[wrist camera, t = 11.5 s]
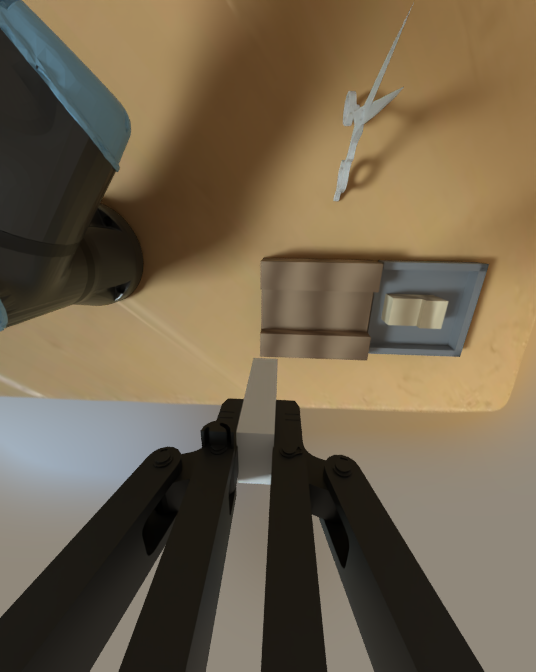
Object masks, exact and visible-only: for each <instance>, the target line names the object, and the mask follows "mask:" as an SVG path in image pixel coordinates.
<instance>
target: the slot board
mask: <svg viewBox="0 0 536 672" xmlns="http://www.w3.org/2000/svg"><path fill="white" fill-rule="evenodd" d="M382 270H383V264H382V263H379V262H376V261H373V260H342V259H291V258H263V259H262V260H261V289H262V322H261V333H260V356H261V357H289V358H316V359H344V360H367V357H368V352H369V346H370V340H371V336H370V335H369V334H368V333H367V328H368V322H369V316H370V310H371V304H372V298H373V292H379V287H380V281H381V276H382Z"/></svg>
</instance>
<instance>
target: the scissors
mask: <svg viewBox="0 0 536 672" xmlns="http://www.w3.org/2000/svg"><path fill="white" fill-rule="evenodd" d="M413 3H414V2H413ZM411 8H412V7H411ZM410 10H411V9H410ZM409 13H410V11H409ZM409 13H408V15H409ZM408 15H407V17H408ZM407 17H406V19H405V21H404V23H403V25H402V27H401V29H400V31H399V33H398V35H397V37H396V39H395V41H394V43H393V45H392V47H391V49H390V51H389V53H388V55H387V57H386V59H385V61H384V64H383V66H382V68H381V70H380V72H379V74H378V76H377V78H376V81H375V83H374V85H373V87H372V89H371V92H370V94H369V96H368V98H367V100H366V102H365V104H364V106H362V107H360V105H357V102H356V92H355V91H349V92H348V94H347V97H346V101H345V106H344V112H343V125H344V126H351V125H352V121H353V119H354V124H355V126H354V130H353V134H352V138H351V142H350V146H349V150H348V154H347V157H346V160H342V162H341V165H340V169H339V174H338V180H337V188H336V192H335V195H334V201H339V198H340V195H341V192H344V191H345V189H346V186H347V182H348V177H349V170H350V166H351V162H352V161H353V159H354V154H355V150H356V146H357V143H358V141H359V139H360V137H361V135H362V132H363V126H364V124H365V123H366V122H368V121H369V120H370V119H372V118H373V117H374V116H375V115H377V114H378V113H379V112H380V111H381V110H382V109H383V108H384V107H385V106H386V105H387V104H388V103H389V102H391V101H392V100H393V99H394V98H395V97H396V96H397V95H398V93H399V92H400V91H401V90H402V89H403V87H402V88H400V89H398V90H396V91H394V92H392V93H390V94H388V95H386V96H384V97H382V98H381V99H378V100H376V101H374V102H373V99H374V97H375V95H376V92H377V90H378V87H379V85H380V83H381V80H382V78H383V76H384V73H385V71H386V68H387V66H388V63H389V61H390V59H391V56H392V54H393V51H394V49H395V46H396V44H397V42H398V39H399V37H400V34H401V32H402V29H403V27H404V25H405V22H406V20H407ZM372 102H373V103H372Z"/></svg>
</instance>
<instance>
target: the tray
mask: <svg viewBox="0 0 536 672" xmlns="http://www.w3.org/2000/svg"><path fill="white" fill-rule="evenodd" d="M378 262H379V263H382V264H383V270H382V276H381V281H380V287H379V292H373V298H372V304H371V310H370V316H369V322H368V328H367V333H368V334H369V335H370V336H371V340H370V346H369V352H368V353H371V354H399V355H427V356H456V357H460V355H461V352H462V348H463V345H464V342H465V339H466V336H467V333H468V329H469V326H470V323H471V320H472V317H473V313H474V310H475V307H476V304H477V301H478V297H479V294H480V291H481V288H482V285H483V282H484V278H485V275H486V272H487V269H488V266H489V264H485V263H479V262H442V261H392V260H378ZM386 294H417V295H434V296H437V297H439V298H442V299H444V300H446V301H449V302H448V305H447V309H446V313H445V316H444V320H443V324H442V327H441V329H428V328H418V327H417V326H401V325H388V324H386V323H385V322H384V321H383V320H382V319H381V317H382V311H383V306H384V300H385V295H386Z"/></svg>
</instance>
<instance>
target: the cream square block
mask: <svg viewBox="0 0 536 672" xmlns="http://www.w3.org/2000/svg"><path fill="white" fill-rule="evenodd" d="M421 303H422V299H421V298H419V297H417V296H415V295H413V294H386V295H385V300H384V306H383V311H382V317H381V319H382V320H383V321H384V322H385V323H386V324H388V325H401V326H416V324H417V320H418V316H419V311H420V307H421Z"/></svg>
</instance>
